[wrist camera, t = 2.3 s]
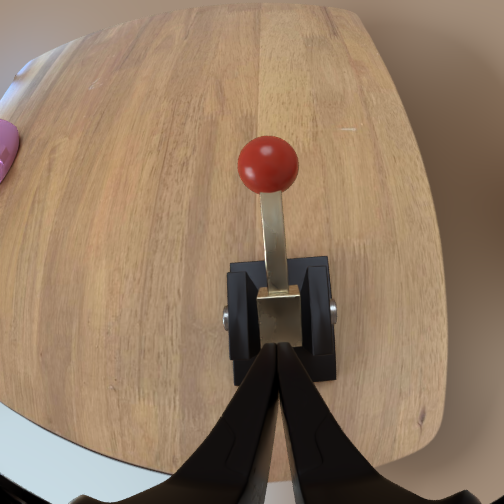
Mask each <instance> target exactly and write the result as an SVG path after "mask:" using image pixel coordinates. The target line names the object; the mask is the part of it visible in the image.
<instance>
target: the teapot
mask: <svg viewBox="0 0 504 504" xmlns="http://www.w3.org/2000/svg"><path fill="white" fill-rule="evenodd" d="M18 147H19V134H18V130H17V127H16V126H14V125H13V124H12V123H10V122H8V121H6V120H2V119H0V183H1V181H2V180H3V179H4V177H5V176H6V174H7V172H8V171H9V169H10V167H11V165H12V163H13V161H14V159H15V156H16V154H17V151H18Z"/></svg>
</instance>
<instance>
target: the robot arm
mask: <svg viewBox="0 0 504 504" xmlns="http://www.w3.org/2000/svg"><path fill="white" fill-rule="evenodd" d="M279 399H280V407H281V414H282V420H283V426H284V433H285V439H286V445H287V452H288V458H289V464H290V471H291V477H292V483H293V490H294V495H295V502H296V504H481V502H480V501H479V499H478V498H477V497H476V496H474V495H473V494H472V493H470V492H469V491H468V490H463V491H461V492H458V493H456V494H454V495H451V496H449V497H447V498H444V499H441V500H427V499H424V498H422V497H420V496H418V495H416V494H414V493H412V492H410V491H408V490H406V489H404V488H402V487H400V486H398V485H397V484H395V483H393V482H391V481H389V480H388V479H386V478H384V477H383V476H382V475H380V474H379V473H378V472H377V471H376V470H375V469H374V468H373V467H372V466H371V464H370V463H369V462H368V461H367V460H366V459H365V458H364V456H363V455H362V454H361V453H360V452H359V451H358V449H357V448H356V447H355V446H354V445H353V444H352V442H351V441H350V440H349V438H348V437H347V436H346V435H345V433H344V432H343V431H342V429H341V428H340V426H339V425H338V423H337V421H336V420H335V418H334V417H333V415H332V413H331V412H330V410H329V408H328V407H327V405H326V403H325V402H324V400H323V398H322V397H321V395H320V393H319V392H318V390H317V388H316V387H315V385H314V383H313V382H312V380H311V378H310V376H309V375H308V373H307V371H306V370H305V368H304V366H303V365H302V363H301V361H300V359H299V358H298V356H297V354H296V353H295V351H294V349H293V348H292V346H291V344H290V343H289V342H278V343H277V344H276V343H275V342H274V343H265V344H264V345H263V347H262V348H261V350H260V352H259V354H258V355H257V357H256V359H255V361H254V362H253V364H252V366H251V368H250V369H249V371H248V373H247V374H246V376H245V378H244V379H243V381H242V383H241V384H240V386H239V388H238V389H237V391H236V393H235V394H234V396H233V398H232V399H231V401H230V403H229V404H228V406H227V407H226V409H225V411H224V412H223V414H222V417H220V419H219V420H218V422H217V423H216V425H215V426H214V428H213V429H212V431H211V432H210V434H209V435H208V436H207V438H206V439H205V440H204V441H203V443H202V444H201V445H200V446H199V447H198V448H197V450H196V451H195V452H194V453H193V454H192V455H191V456H190V457H189V459H188V460H187V461H186V462H185V463H184V464H183V465H182V466H181V467H180V468H179V469H178V470H177V472H176V473H175V474H173V475H172V476H171V477H170V478H169V479H167V480H166V481H164V482H162V483H160V484H159V485H156V486H154V487H152V488H150V489H147V490H145V491H143V492H141V493H138V494H136V495H134V496H131V497H129V498H126V499H124V500H121V501H118V502H111V503H109V502H102V501H99V500H97V499H94V498H92V497H89V496H86V495H80V496H78V497H77V498H75V499H73V500H72V501H70V502H69V503H68V504H264V500H265V494H266V488H267V482H268V476H269V470H270V463H271V457H272V450H273V443H274V436H275V428H276V421H277V413H278V405H279ZM0 504H51V503H50V502H48V501H46V500H44V499H42V498H41V497H39V496H37V495H35V494H34V493H32V492H30V491H28V490H27V489H25V488H23V487H22V486H20V485H18V484H17V483H15V482H14V481H12V480H10V479H9V478H7V477H6V476H4V475H3V474H1V473H0ZM490 504H504V495H503V496H502V497H500V498H498V499H497V500H495V501H493V502H492V503H490Z"/></svg>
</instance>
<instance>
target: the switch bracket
mask: <svg viewBox="0 0 504 504" xmlns="http://www.w3.org/2000/svg"><path fill="white" fill-rule="evenodd" d="M287 268H288V283H289V285H298V288H299V291H300V295H301V313H302V339H303V346H299V347H292V348H293V349H294V351H295V353H296V354H297V356H298V358H299V359H300V361H301V363H302V365H303V366H304V368H305V370H306V371H307V373H308V375H309V376H310V378H311V380H312V382H321V381H330V380H336V353H335V335H334V324H336V321H337V307H336V302H335V300H334V299H332V295H331V284H330V274H329V265H328V257H327V256H319V257H306V258H293V259H287ZM260 287H267V277H266V264H265V261H252V262H238V263H230V272H228V273H227V299H228V306H225V307H224V310H223V324H224V328H225V330H226V331H228V332H229V359H230V360H233V373H234V385H235V386H240V384H241V383H242V381H243V379H244V378H245V376H246V374H247V373H248V371H249V369H250V368H251V366H252V364H253V362H254V361H255V359H256V357H257V355H258V354H259V352H260V350H261V348H260V339H259V327H258V316H257V304H256V297H257V294H258V291H259V288H260Z"/></svg>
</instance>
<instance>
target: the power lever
mask: <svg viewBox="0 0 504 504" xmlns="http://www.w3.org/2000/svg"><path fill="white" fill-rule="evenodd" d="M298 170H299V162H298V157H297V154H296V152H295V151H294V149H293V148H292V147H291V145H290V144H289V143H287V142H286V141H285V140H283V139H281V138H278V137H275V136H261V137H257V138H255V139H253V140H251V141H250V142H249V143H247V144H246V145H245V146H244V148H243V149H242V151H241V152H240V155H239V158H238V173H239V176H240V178H241V180H242V182H243V183H244V185H245V186H246V187H247V188H248V189H250V190H251V191H253V192H255V193H257V194H260V204H261V215H262V227H263V239H264V252H265V264H266V277H267V287H260V288H259V291H258V294H257V297H256V304H257V316H258V327H259V339H260V348H262V347H263V345H264V344H265V343H274V342H275V343H276V344H277V343H278V342H289V343H290V344H291V346H292V347H299V346H303V339H302V313H301V295H300V291H299V288H298V285H289V283H288V268H287V254H286V240H285V228H284V215H283V204H282V192H284V191H286V190H287V189H288V188H289V187H290V186H291V185H292V184H293V183H294V181H295V179H296V177H297V175H298Z"/></svg>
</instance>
